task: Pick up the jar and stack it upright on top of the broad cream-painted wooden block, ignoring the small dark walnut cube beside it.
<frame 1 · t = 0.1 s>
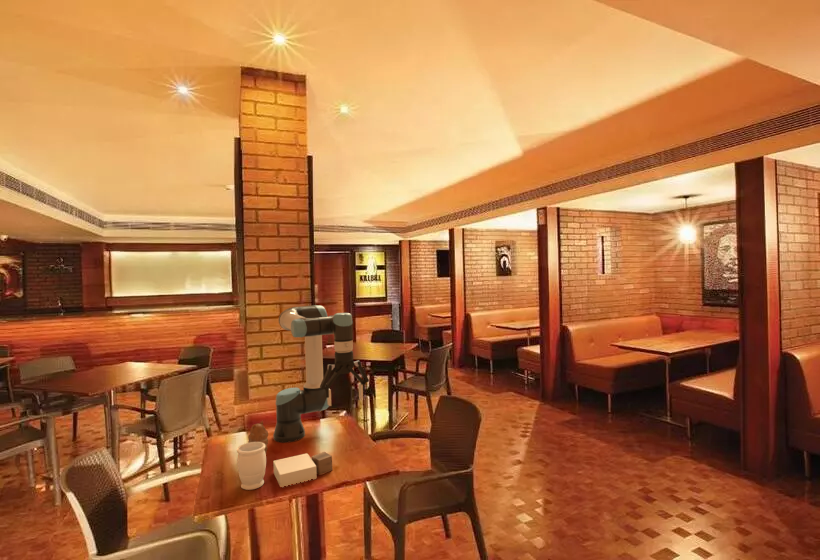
hand: (345, 402, 177), 28 cm above the table, fingers open, 13 cm apart
jar: (252, 485, 168), on the table
cream block: (294, 475, 174), on the table
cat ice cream: (259, 464, 186), on the table
walnut cube: (322, 470, 178), on the table
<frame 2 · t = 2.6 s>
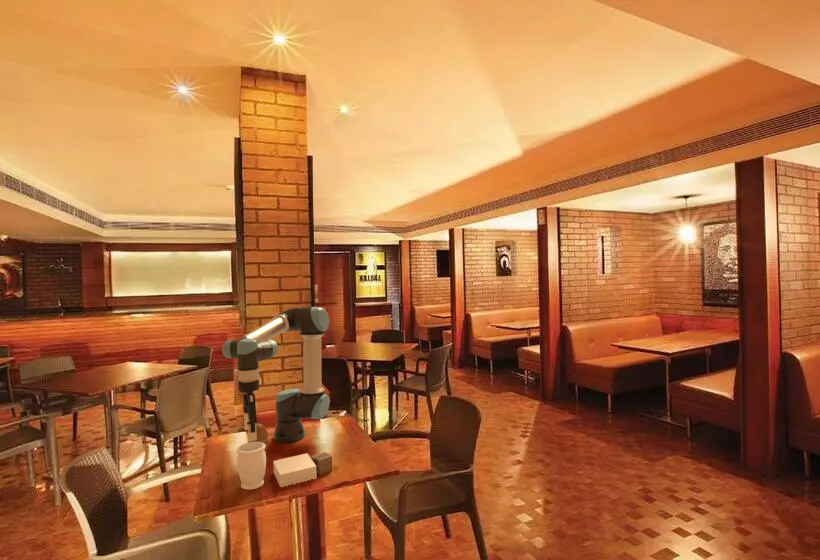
hand: (250, 434, 167), 20 cm above the table, fingers open, 13 cm apart
nothing on the table moved.
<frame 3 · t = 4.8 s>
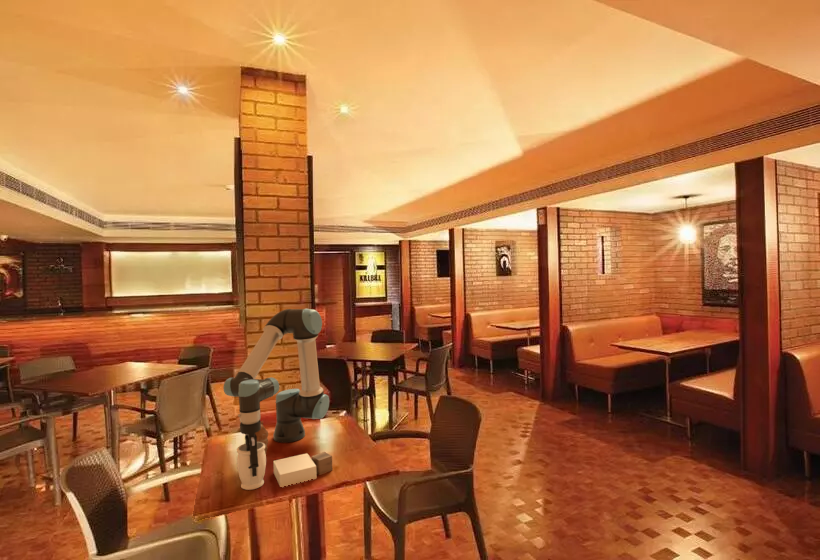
hand: (252, 477, 167), 3 cm above the table, fingers closed on jar, 10 cm apart
jar: (252, 485, 168), on the table, touching gripper
everything else where it was.
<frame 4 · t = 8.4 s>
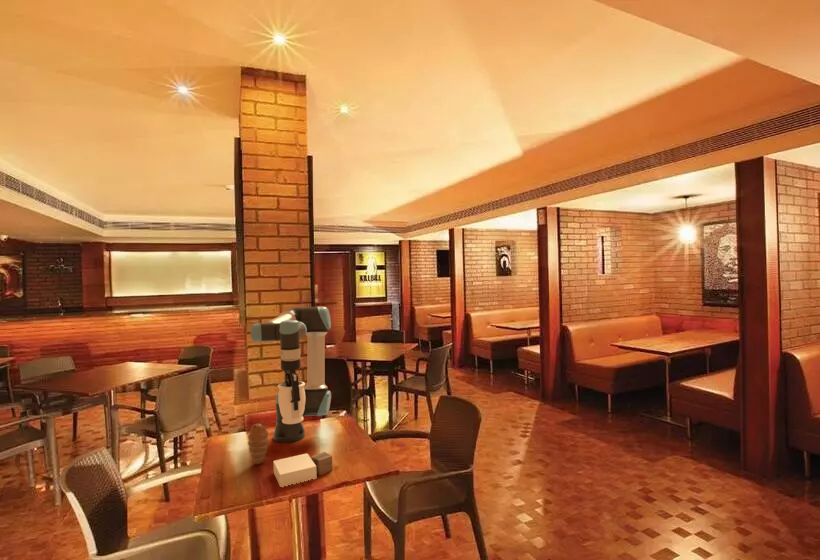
hand: (292, 413, 173), 25 cm above the table, fingers closed on jar, 10 cm apart
jar: (292, 421, 174), point 22 cm above the table, touching gripper
everything else where it was.
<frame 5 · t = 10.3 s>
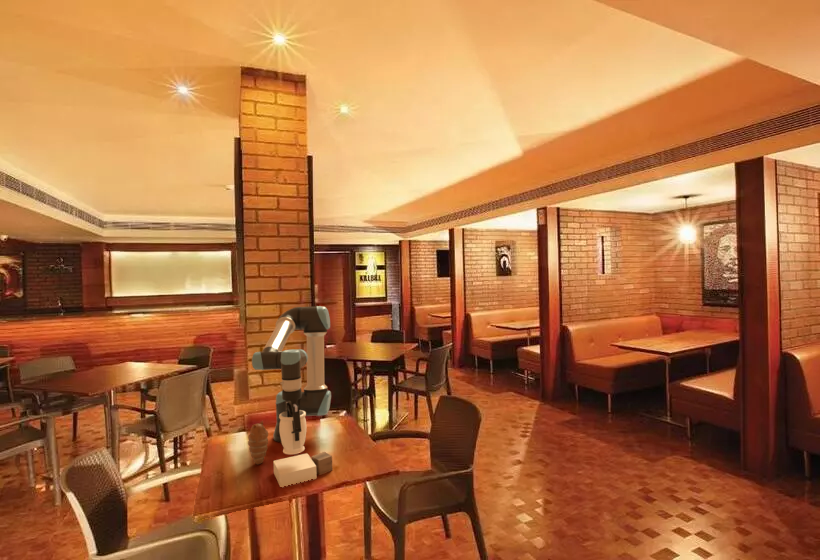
hand: (293, 443, 174), 13 cm above the table, fingers closed on jar, 10 cm apart
jar: (293, 451, 174), point 10 cm above the table, touching gripper
everything else where it was.
when the fingers open (10 cm above the table, at t = 12.1 s): jar drops 2 cm, resting on cream block.
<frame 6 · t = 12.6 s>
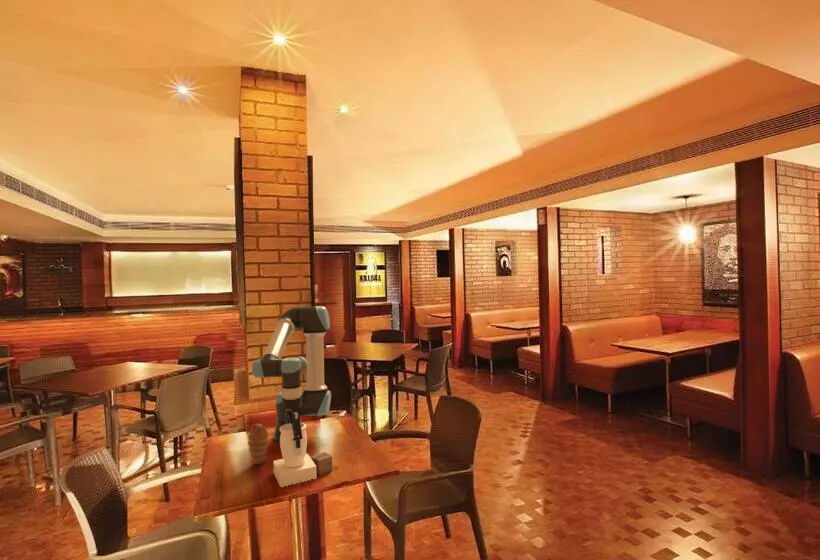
hand: (293, 449, 174), 11 cm above the table, fingers open, 13 cm apart
jar: (294, 463, 174), point 5 cm above the table, touching cream block
everything else where it was.
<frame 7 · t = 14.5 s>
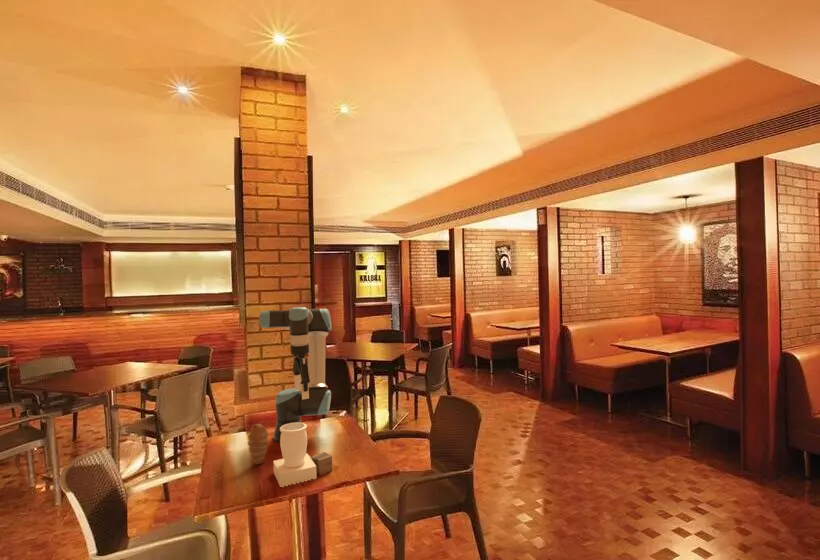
hand: (301, 394, 182), 31 cm above the table, fingers open, 13 cm apart
nothing on the table moved.
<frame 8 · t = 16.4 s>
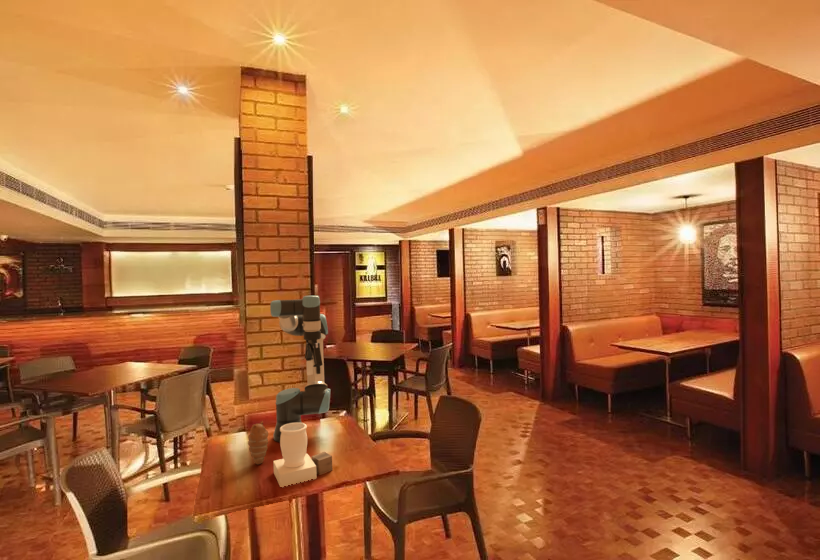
hand: (313, 377, 193), 35 cm above the table, fingers open, 13 cm apart
nothing on the table moved.
at the end: jar inside the target area on the cream block (0.1 cm from its centre), point 4.8 cm above the cream block's base; jar tilted 1°; the gripper is holding nothing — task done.
